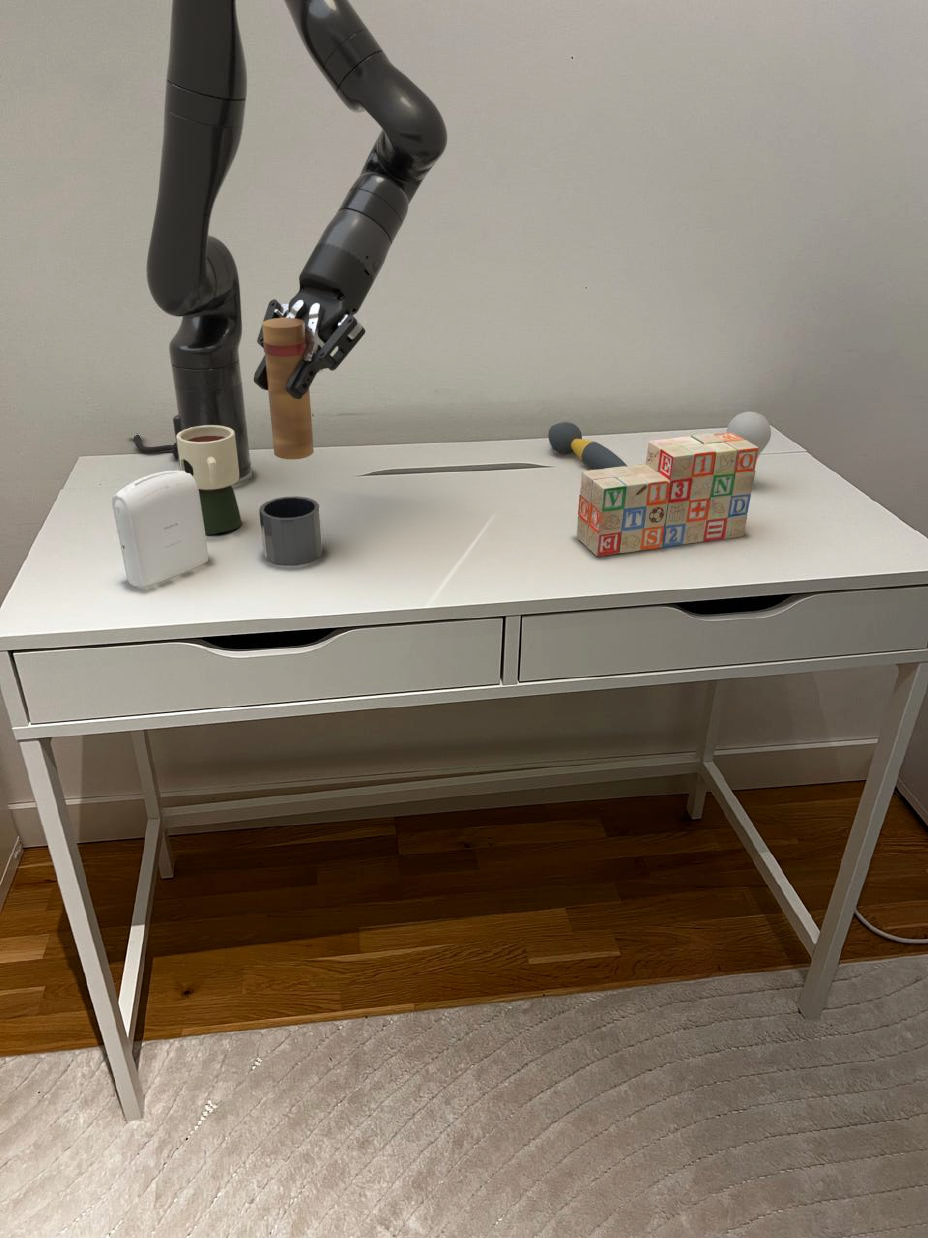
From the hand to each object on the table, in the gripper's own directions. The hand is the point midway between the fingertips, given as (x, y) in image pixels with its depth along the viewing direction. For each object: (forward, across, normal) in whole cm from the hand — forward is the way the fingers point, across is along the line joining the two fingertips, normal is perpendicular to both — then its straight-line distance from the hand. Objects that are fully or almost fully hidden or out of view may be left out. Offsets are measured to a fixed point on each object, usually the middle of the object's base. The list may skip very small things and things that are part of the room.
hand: (276, 389), depth 109 cm
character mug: (+15, -14, +16) cm, 26 cm away
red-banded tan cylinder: (+4, 0, +7) cm, 8 cm away
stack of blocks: (-9, +32, +40) cm, 52 cm away
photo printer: (+23, -9, +7) cm, 26 cm away
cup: (+14, -1, +16) cm, 21 cm away
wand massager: (-22, +10, +52) cm, 57 cm away
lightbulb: (-26, +33, +56) cm, 70 cm away
